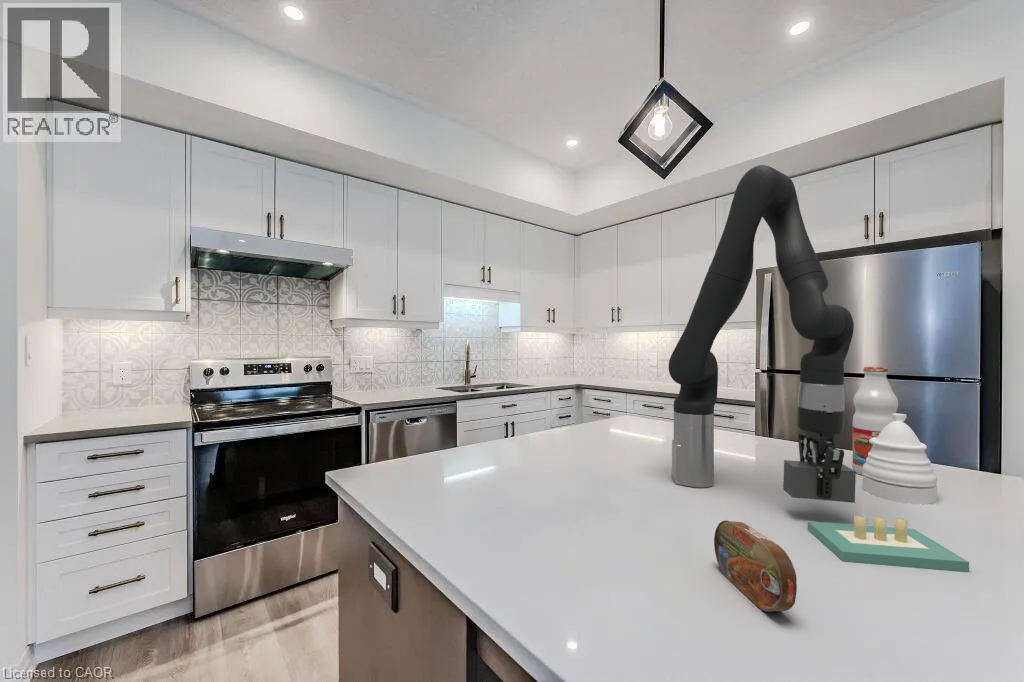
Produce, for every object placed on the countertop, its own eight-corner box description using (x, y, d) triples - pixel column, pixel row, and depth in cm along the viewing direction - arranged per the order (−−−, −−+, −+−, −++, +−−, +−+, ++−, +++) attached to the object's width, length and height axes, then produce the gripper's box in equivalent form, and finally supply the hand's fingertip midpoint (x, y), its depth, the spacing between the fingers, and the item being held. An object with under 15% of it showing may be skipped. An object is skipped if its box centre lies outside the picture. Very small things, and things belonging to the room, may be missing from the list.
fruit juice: (898, 473, 117) (898, 367, 117) (900, 482, 109) (900, 368, 109) (852, 467, 123) (853, 365, 123) (851, 475, 115) (852, 367, 115)
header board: (842, 561, 70) (842, 529, 70) (807, 529, 82) (807, 502, 82) (969, 571, 67) (969, 538, 67) (913, 537, 79) (913, 509, 79)
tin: (712, 565, 69) (712, 511, 69) (731, 564, 69) (731, 510, 69) (778, 627, 54) (778, 558, 54) (802, 626, 54) (802, 557, 54)
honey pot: (866, 481, 110) (866, 409, 110) (938, 494, 101) (938, 415, 101) (857, 494, 101) (858, 415, 101) (935, 509, 92) (936, 422, 92)
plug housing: (792, 497, 86) (793, 466, 86) (783, 489, 90) (784, 460, 90) (854, 502, 84) (855, 471, 84) (842, 494, 88) (843, 464, 88)
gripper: (784, 400, 95) (782, 479, 95) (815, 411, 81) (813, 504, 81) (824, 401, 93) (821, 482, 93) (863, 413, 79) (859, 509, 79)
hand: (817, 492), depth 87 cm, fingers closed on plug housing, 4 cm apart
